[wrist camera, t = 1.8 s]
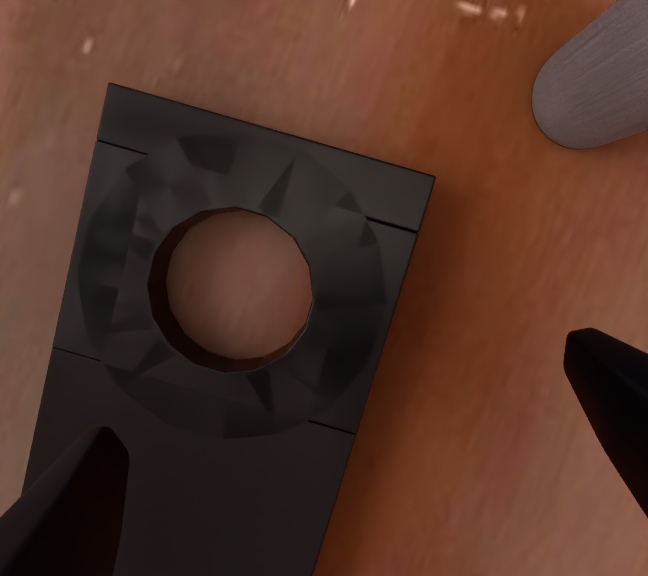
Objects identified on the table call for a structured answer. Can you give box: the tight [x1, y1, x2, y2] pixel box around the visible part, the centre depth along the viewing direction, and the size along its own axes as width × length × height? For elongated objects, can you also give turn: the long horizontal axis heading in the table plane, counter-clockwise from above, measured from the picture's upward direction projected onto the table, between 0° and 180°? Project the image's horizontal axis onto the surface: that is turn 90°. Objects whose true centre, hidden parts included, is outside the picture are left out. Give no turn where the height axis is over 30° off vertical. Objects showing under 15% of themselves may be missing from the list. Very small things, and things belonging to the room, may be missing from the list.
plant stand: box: [21, 83, 436, 576], centre depth 22 cm, size 36×14×2 cm, turn 164°
